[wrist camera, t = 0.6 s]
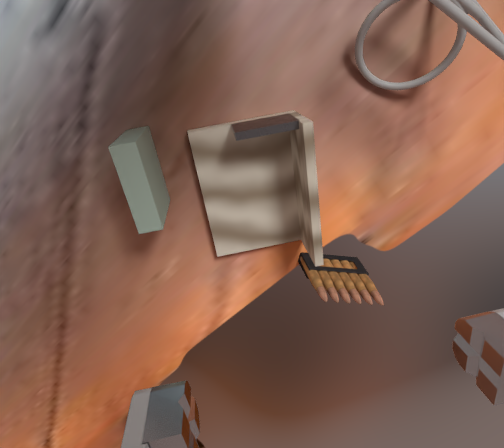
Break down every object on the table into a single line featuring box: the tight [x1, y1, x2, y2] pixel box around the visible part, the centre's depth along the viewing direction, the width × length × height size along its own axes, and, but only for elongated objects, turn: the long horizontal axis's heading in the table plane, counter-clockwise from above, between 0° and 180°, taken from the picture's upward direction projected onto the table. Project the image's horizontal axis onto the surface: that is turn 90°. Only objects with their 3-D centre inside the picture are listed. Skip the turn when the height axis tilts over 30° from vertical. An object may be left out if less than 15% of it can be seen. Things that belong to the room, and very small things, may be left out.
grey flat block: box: [108, 126, 170, 234], centre depth 44 cm, size 3×11×10 cm, turn 9°
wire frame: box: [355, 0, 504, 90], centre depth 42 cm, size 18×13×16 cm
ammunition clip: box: [298, 253, 384, 306], centre depth 54 cm, size 11×2×12 cm, turn 80°
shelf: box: [187, 110, 324, 267], centre depth 48 cm, size 20×15×10 cm
